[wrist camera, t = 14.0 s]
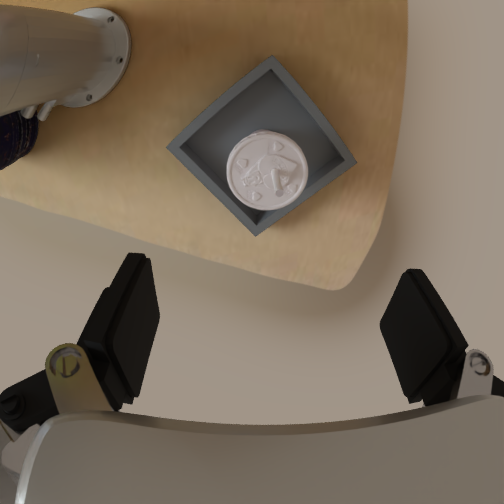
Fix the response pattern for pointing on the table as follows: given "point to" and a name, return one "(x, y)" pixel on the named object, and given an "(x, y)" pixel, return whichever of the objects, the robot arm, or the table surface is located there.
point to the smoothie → (267, 170)
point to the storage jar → (16, 136)
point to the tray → (255, 118)
